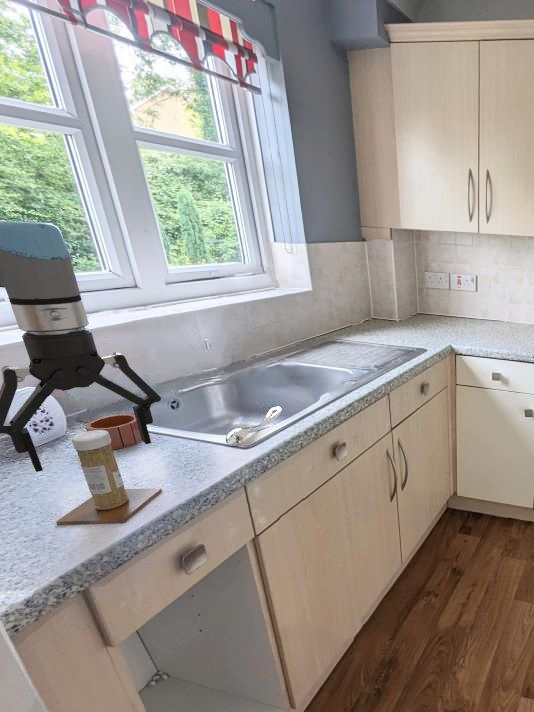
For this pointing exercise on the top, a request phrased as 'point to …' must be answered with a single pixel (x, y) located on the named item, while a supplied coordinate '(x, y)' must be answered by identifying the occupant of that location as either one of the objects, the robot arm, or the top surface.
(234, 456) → the top surface
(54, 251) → the robot arm
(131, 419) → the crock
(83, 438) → the sprinkles bottle
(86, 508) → the cork board
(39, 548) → the top surface
